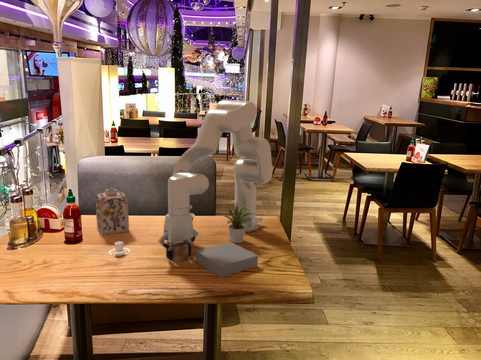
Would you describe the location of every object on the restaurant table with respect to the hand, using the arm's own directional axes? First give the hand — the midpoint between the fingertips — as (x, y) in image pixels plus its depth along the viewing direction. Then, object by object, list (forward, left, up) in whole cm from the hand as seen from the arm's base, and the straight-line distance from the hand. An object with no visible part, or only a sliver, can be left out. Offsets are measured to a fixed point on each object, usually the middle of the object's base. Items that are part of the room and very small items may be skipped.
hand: (178, 256), depth 149 cm
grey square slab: (-12, +13, -1) cm, 18 cm away
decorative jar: (+8, -44, -1) cm, 45 cm away
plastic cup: (-9, -14, -1) cm, 17 cm away
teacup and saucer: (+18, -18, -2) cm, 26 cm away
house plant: (-28, -2, -1) cm, 28 cm away
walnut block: (0, 0, -1) cm, 1 cm away
